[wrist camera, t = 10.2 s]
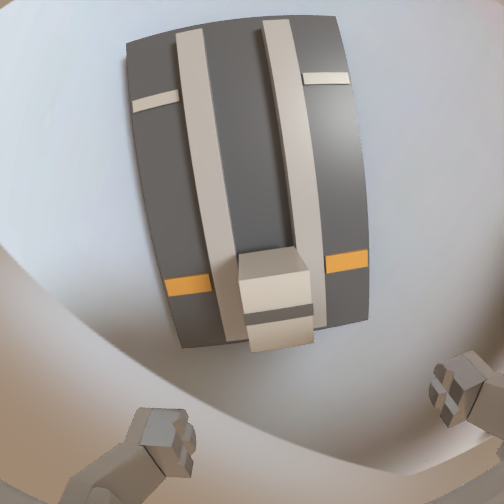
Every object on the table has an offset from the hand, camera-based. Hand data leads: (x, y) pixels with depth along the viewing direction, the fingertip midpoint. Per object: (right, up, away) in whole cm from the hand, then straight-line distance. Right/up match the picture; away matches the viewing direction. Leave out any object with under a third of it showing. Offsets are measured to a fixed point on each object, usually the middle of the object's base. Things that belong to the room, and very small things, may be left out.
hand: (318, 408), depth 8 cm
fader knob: (-1, +3, +11) cm, 11 cm away
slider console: (-2, +10, +11) cm, 15 cm away
